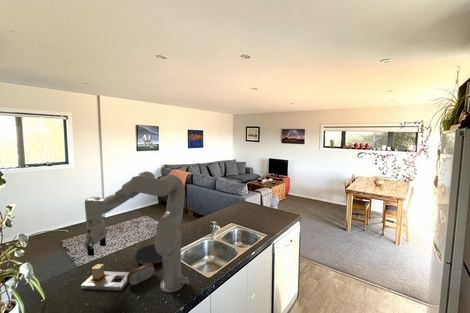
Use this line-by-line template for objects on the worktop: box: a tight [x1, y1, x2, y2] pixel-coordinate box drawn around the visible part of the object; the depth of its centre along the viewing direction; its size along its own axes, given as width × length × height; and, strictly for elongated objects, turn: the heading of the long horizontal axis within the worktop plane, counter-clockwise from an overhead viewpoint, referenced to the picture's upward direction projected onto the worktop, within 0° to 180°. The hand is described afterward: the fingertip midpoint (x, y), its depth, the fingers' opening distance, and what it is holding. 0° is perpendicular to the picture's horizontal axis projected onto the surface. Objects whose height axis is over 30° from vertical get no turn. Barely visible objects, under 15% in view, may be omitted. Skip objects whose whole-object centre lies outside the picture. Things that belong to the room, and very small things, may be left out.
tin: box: [127, 263, 156, 286], centre depth 123 cm, size 15×3×8 cm, turn 135°
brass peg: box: [91, 263, 105, 281], centre depth 123 cm, size 4×4×9 cm
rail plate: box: [80, 270, 130, 291], centre depth 123 cm, size 22×12×2 cm, turn 87°
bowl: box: [133, 243, 163, 266], centre depth 145 cm, size 22×22×5 cm
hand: (97, 250), depth 121 cm, fingers open, 9 cm apart
